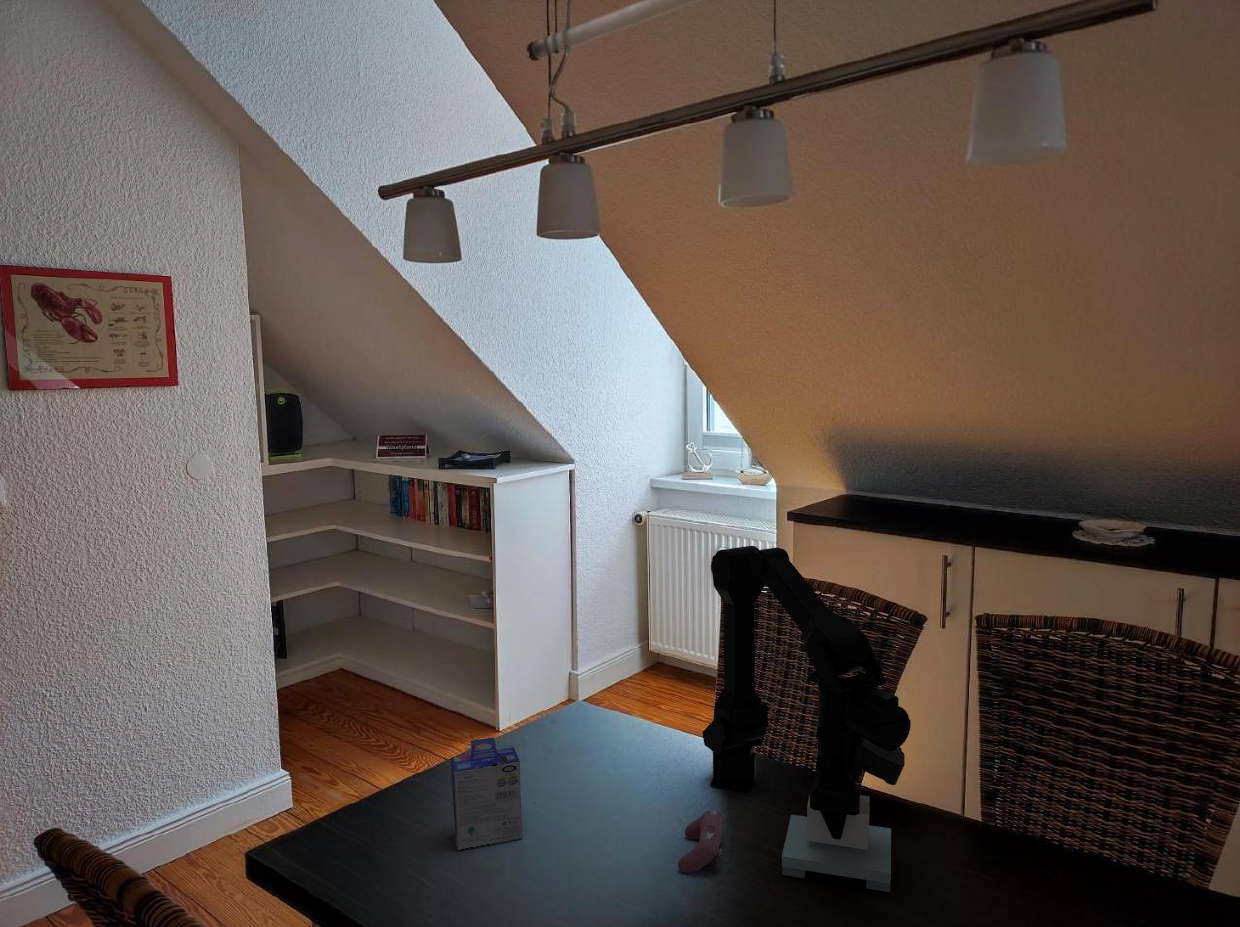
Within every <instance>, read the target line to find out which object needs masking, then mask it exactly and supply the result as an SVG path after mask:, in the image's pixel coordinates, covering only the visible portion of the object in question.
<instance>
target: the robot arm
mask: <svg viewBox="0 0 1240 927" xmlns="http://www.w3.org/2000/svg"><path fill="white" fill-rule="evenodd" d="M711 558H712V559H711V564H710V571H711V574H712V584H713V587H714V589H715V590H716V592H717V594H718V595H719V597H720V598H721V600H722V601H723V602H722V603H723V676H724V677H723V690H722V691H721V693H720V695H719V697H718V698H717V700H716V702H714V708H713V718H712V719H713V720H711V722H710V723H709V724H708V726H706V727H705V729H704V730H703V731H702V733H701V734H702V739H703V744H704V747H706V748H708V749H709V750H710V751H711V752H712V778H711V780H710V786H711V787H712V788H719V789H725V790H726V789H727V790H734V791H742V792H750V791H751V789H752V787H753V784H754V783H756V779H757V777H758V776H757V774H758V768H757V767H758V765H757V764H758V760H757V759H758V757H757V756H758V755H757V754H758V753H757V752H754V747H757V746H762V745H763V742H764V738H765V735H766V734H767V730H768V728H769V727H770V725H769V718H768V713H769V705H768V704H767V702H764V701H762V698H761V697H760V696H759V694H758V692H757V691H756V602H757V601H758V599H759V597H760V595H761V593H762V592H763V590H764V588H765V586H766V587H767V588H768V590H770V592H771V594H772V595H773V596H774V597H775V599H776V600H777V601H778V602H779V604H780V606H781V607H782V608H783V609H784V610H785V612H786V614H788V616H789V617H790V619H791V620H792V621H793V622H794V624H795V625H796V627H797V628H798V630H800V632H801V634H802V638H803V641H802V642H803V645H802V646H803V650H804V652H805V654H806V656H807V658H808V659H809V661H810V663H811V664H812V666H813V668H814V669H815V670H814V671H813V672H811V673H809V675H808V676H807V677H808V678H807V679H808V680H810V681H811V682H813V683H815V684H817V686H818V688H817V692H818V693H817V695H818V696H817V698H818V699H817V728H816V733H815V736H816V737H815V738H816V739H815V741H817V755H816V760H815V769H817V770H818V771H819V776H817V777H816V778H814V779H813V780H812V781H811V786H810V792H809V795H810V808H811V809H813V810H817V811H820V813H821V815H822V817H823V819H824V821H825V823H826V825H827V827H828V830H829V832H830V834H831V836H832V838H833V839H838V840H840V839H841V836H842V832H843V828H844V824H845V820H846V816H847V815H853V816H855V815H858V814H859V812H860V795H861V793H862V792H861V789H862V788H861V786H859V784H858V783H857V782H856V781H855V780H857V779H858V778H859V777H862V776H863V771H864V772H866V773H867V774H869V775H871V776H873V777H875V778H878V779H880V780H882V781H884V782H885V783H886V784H888V785H891V786H895V785H897V783H898V780H899V779H900V777H901V775H902V772H903V769H904V767H905V764H906V763H905V760H906V759H905V756H906V755H905V752H903V751H902V746H903V745H904V743H905V742H906V740H907V739H908V737H909V735H910V731H911V725H912V724H911V723H912V721H911V719H910V716H909V714H908V712H907V710H905V708H904V707H901V706H900V705H899V700H900V698H899V696H897V695H894V694H893V693H889V692H886V691H884V690H881V689H879V688H878V687H882V686H885V685H886V683H887V682H886V679H885V676H884V674H883V671H884V669H883V668H882V667H881V665H880V663H879V661H878V660H877V658H876V655H875V653H874V651H873V648H872V646H871V643H870V641H869V638H868V636H867V635H866V634H865V632H863V631H862V630H861V629H860V628H858V626H856V624H854V623H853V622H852V621H851V620H850V619H848V618H846V617H844V616H842V615H840V614H837V613H835V612H834V611H832V610H831V609H830V608H829V607H828V606H827V604H825V603H824V601H823V600H822V599H821V598H820V596H819V595H818V594H817V593H816V591H815V590H814V589H813V587H812V586H811V585H810V584H809V583H808V581H807V580H806V579H805V577H804V576H803V575H802V574H801V573H800V572H799V570H798V569H797V568H796V566H795V565H794V564H793V563H792V562H791V560H790V556H789V554H788V551H787V550H785V548H781V547H778V546H776V547H770V548H763V549H759V548H758V547H757V546H755V545H747V546H738V547H732V548H724V549H719V550H717V551H716V553H715V554H714V555H713V556H712V557H711ZM862 670H863V671H864V673H861V674H858V675H857V674H856V675H853V676H852V675H851V676H846V675H845V674H850V673H854V672H859V671H862Z"/></svg>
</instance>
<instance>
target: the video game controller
mask: <svg viewBox="0 0 1240 927" xmlns="http://www.w3.org/2000/svg"><path fill="white" fill-rule="evenodd" d="M724 819H725V815H723V814H722V813H721V812H718V811H717V810H715V811H714V810H711V809H709V810H706V811H705V812H704V813H703V814H702V815H701V816H699V817H698V818H697V819H695V820H693V821H691V822H690V823H689V824H687V826H686V827H685V830H684V835H685V837H686V838H687V839H689V840H698V843H697V845H696V846H695V847H694V848H692V849H691V850H690V851H688V852H686V853H685V854H684V855H683V856H682V857H680V859H679V860H678V864H677V868H678V870H679V871H680V872H682V873H684V874H690V873H694V872H697V871H699V870H701V869H702V868H704V867H705V866H707V865H708V864H709V863H711V862H712V861H713V860H714V859H715V857H719V856H720V855H721V854H722V847H720V845H721V840H722V839H721V837H720V834H721V830H722V826H723V822H724Z"/></svg>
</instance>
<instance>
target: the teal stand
mask: <svg viewBox="0 0 1240 927" xmlns="http://www.w3.org/2000/svg"><path fill="white" fill-rule="evenodd" d="M891 859H892V828H889V827H883V826H875V825H869V836H868V850H866V849H859V848H852V847H845V846H839V845H832V844H825V843H819V842H812V841H807V816H803V815H798V814H791V815H790V818H789V824H788V827H787V832H786V836H785V841H784V845H783V849H782V854H781V869H782V870H781V871H782V872H781V874H782V876H788V877H795V878H800V879H805V878H806V873H807V872H813V873H820V874H826V875H833V876H839V877H840V876H841V877H846V878H852V879H856V880H857V879H859V880H863V881H866V884H865V886H866V887H865V888H866V889H867V890H869V889H870V890H875V891H880V892H881V891H882V892H888V893H891V877H892V876H891V875H892V874H891V872H892V871H891V870H892V869H891V866H892V864H891V862H892V860H891Z"/></svg>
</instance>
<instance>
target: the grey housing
mask: <svg viewBox="0 0 1240 927" xmlns="http://www.w3.org/2000/svg"><path fill="white" fill-rule="evenodd" d="M806 806H807V807H806V808H807V809H806V811H807V813H806V817H807V841H812V842H819V843H825V844H832V845H839V846H845V847H852V848H859V849H866V850H868V836H869V826H870V796H869V795H861V794H860V812H859V814H858V815H855V816H853V815H847V816H846V820H845V824H844V828H843V832H842V836H841V839H840V840H838V839H833V838H832V836H831V834H830V832H829V830H828V827H827V825H826V823H825V821H824V819H823V817H822V815H821V813H820V811H817V810H813V809H811V808H810V794H809V795H808V802H807V805H806Z"/></svg>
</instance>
